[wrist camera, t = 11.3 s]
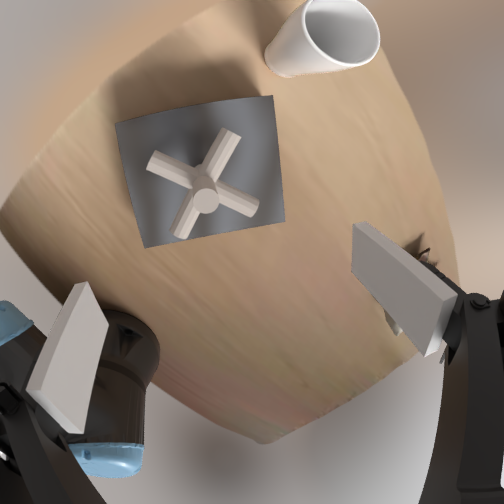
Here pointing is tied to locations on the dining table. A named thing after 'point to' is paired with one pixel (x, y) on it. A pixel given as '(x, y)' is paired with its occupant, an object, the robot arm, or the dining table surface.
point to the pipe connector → (203, 184)
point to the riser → (193, 153)
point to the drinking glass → (323, 39)
